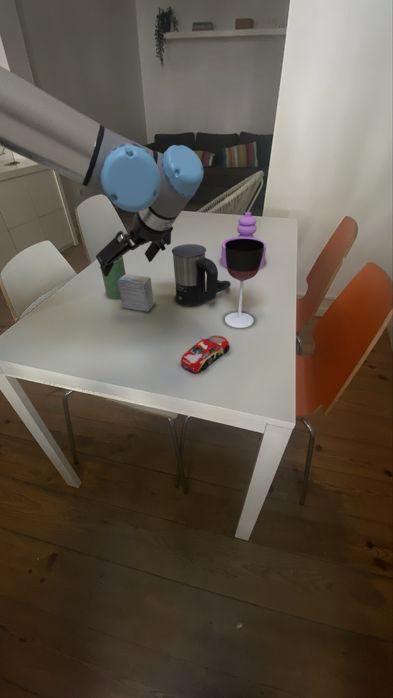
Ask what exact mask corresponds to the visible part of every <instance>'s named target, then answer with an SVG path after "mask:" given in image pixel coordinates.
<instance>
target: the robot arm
mask: <svg viewBox="0 0 393 698" xmlns="http://www.w3.org/2000/svg"><path fill="white" fill-rule="evenodd" d="M0 147H2V148H4V149H6V150H9V151H11V152H13V153H15V154H17V155H19V156H21V157H23V158H26V159H27V160H30V161H32V162H34V163H36V164H39V165H41V166H43V167H45V168H46V169H49V170H51V171H53V172H54V173H57V174H58V175H59V174H60V175H62V176H64V177H66V178H68V179H70V180H72V181H74V182H77V183H78V184H81V185H82V186H84V187H86V188H88V189H90V190H91V191H94V192H96V193H98V194H100V195H102V196H103V197H104V196H105V197H106V198H107V199H108V201H110V202H111V203H112V204H113V205H114V206H116V208H117V207H118V208H119V209H121V210H122V211H125V212H129V213H135V214H134V215H133V218H132V227H131V229H130V230H129V231H128V232H127V233H124V232H123V230H120V231H118V232H117V233H116V235H115V236H114V237H113V238H112V240H111V241H109V243H108V244H106V245H105V246H104V247H103V248H102V249H101V250H100V251H99V252H98V253H97V254H96V255H95V258H96V260H97V262H98V264H99V269H100V270H102V271H101V273H102V272H103V274H104V276H105V277H106V276H108V275H109V273H110V271H111V269H112V267H113V265H114V263H113V262H114V261H116V260H117V259H118V258H120V257H121V256H123V257H124V255H125V254H127V253H129V252H130V251H135V250H136V249H138V248H139V247H140V246H144V245H145V244H149V243H150V244H149V246H148V247H147V249H146V250H145V252H144V255H145V257H146V259H147V261H148V262H149V263H150V262H153V260H154V259H155V257H156V256H157V254H159V252H160V251H162V252H163V251H165V250H166V249H167V248H166V246H170V245H171V244H172V231H173V230H174V227H173V224H174V223H175V222H176V220H177V218H178V217H179V215H181V212H182V211H183V210H184V209H185V207H186V206H187V204H188V203H189V202H190V200H191V199H192V198H193V197H194V196H195V194H196V192H197V190H198V189H199V187H200V186H201V183H202V181H203V179H204V174H205V172H204V166H203V163H202V161H201V159H200V157H199V156H198V154H197V153H196V152H195V151H193V150H192V149H191V148H190V147H189V146H186V145H183V144H180V145H177V144H173V145H171V146H169V147H168V148H167V149H166V150H165V151H164V152H163V153H162V152H159V151H158V150H154V149H150V148H148V147H147V146H144V145H142V144H140V143H138V142H136V141H134V140H131V139H129V138H127V137H125V136H123V135H122V134H118V133H116V132H115V131H113V130H111V129H109V128H107V127H105V126H104V125H101V124H100V123H99V122H97V121H96V120H94V119H93V118H91V117H89V116H87V115H85V114H84V113H82V112H80V111H79V110H77V109H75V108H73V106H70V105H68V104H67V103H65V102H63V101H62V100H60V99H58V98H57V97H55V96H53V95H52V94H50V93H48V92H46V91H45V90H43V89H41V88H40V87H39V86H36V85H34V84H33V83H31V82H29V81H28V80H26V79H24V78H22V77H21V76H19V75H17V74H16V73H14V72H12V71H10V70H9V69H7V68H5V67H3V66H2V65H0ZM165 245H166V246H165ZM100 265H101V266H100Z"/></svg>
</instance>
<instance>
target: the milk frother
mask: <svg viewBox="0 0 393 698" xmlns="http://www.w3.org/2000/svg"><path fill="white" fill-rule="evenodd" d="M206 252H207V248H206V246H204V245H201V244H196V243H185V244H180V245H179V244H178V245H177V246H174V247H173V248H171V253H172V259H173V261H172V262H173V270H174V271H173V272H174V283H175V299H174V300H175V302H176V303H177V304H179V305H180V306H183V307H184V306H185V307H196V306H200V305H203V304H204V303H206V301H207V302H212V301H214V300H215V299H216V298H217V294H218V293H221V292H223V291H225V290H227V289H228V288H230V287H231V285H232V284H231V281H229V280H219V271H218V268H217V265H216V264H215V262H214V261H212V259H210V258H207V257H206Z"/></svg>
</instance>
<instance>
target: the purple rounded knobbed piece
mask: <svg viewBox="0 0 393 698" xmlns="http://www.w3.org/2000/svg"><path fill="white" fill-rule="evenodd" d="M237 223H238V225H237V227H236V231H237V233H238V235H237V236H235V237H230V238H226V239H224V240H223V241H222V242H221V251H220V252H221V253H220V254H221V258H220V263H221V265H222V266H223V267H225V268H226V269H227V264H226V254H225V244H226V243H227V242H228V241H231V240H235V239H253V240H258V241H260V242H262V243H263V244H264V251H263V257H262V261H261V264H260V267H259V269H261V268H262V267H264V265H265V261H266V253H267V252H266V251H267V243H266V242H265V241H264V240H262V239H260V238H256V237H255V235H254V234H256V232H257V225H256V224H257V218H256V217H254V216H253V215H252V212H251V211H245V212H244V215H242V216H240V217H239V218H238V220H237Z"/></svg>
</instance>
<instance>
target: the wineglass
mask: <svg viewBox="0 0 393 698" xmlns="http://www.w3.org/2000/svg"><path fill="white" fill-rule="evenodd" d="M263 251H264V244H263V243H262V242H260V241H258V240H253V239H235V240H231V241H228V242H227V243H226V244H225V254H226V264H227V268H226V269H227V273H228V274H229V276H231V278H233V279H235V280H237V281H239V283H240V284H239V295H238V297H239V298H238V310H237V311H238V312H237V311H235V312H231V313H228V314H227V315H225V316H224V321H225V323H226V324H227V325H228V326H230V327H231V328H237V329H242V328H248V327H250V326H252V325H253V324H254V318H253V317H252V316H251V315H250V314H248V313H246V312H242V308H243V307H242V306H243V293H244V292H243V291H244V282H245V281H247V280H250V279H252V278H254V277H255V276H256V275H257V274H258V272H259V270H260V268H259V267H260V264H261V261H262V257H263Z"/></svg>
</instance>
